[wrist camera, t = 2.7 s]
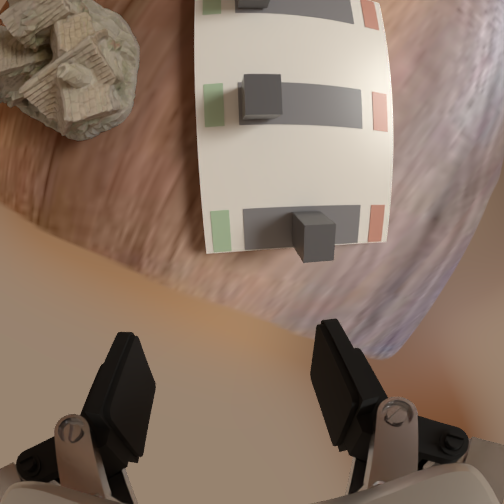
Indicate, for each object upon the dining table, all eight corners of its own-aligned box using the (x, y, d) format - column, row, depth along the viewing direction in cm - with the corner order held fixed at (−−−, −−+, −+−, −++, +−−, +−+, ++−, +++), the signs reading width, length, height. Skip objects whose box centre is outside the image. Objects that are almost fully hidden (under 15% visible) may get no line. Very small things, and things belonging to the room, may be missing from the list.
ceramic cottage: (17, 48, 15) (-66, 35, 2) (141, -6, 16) (94, -81, 3) (23, 164, 22) (-68, 205, 9) (148, 124, 23) (79, 126, 10)
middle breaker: (271, 85, 19) (280, 74, 16) (273, 119, 21) (282, 114, 17) (240, 85, 19) (243, 73, 16) (242, 120, 20) (245, 114, 17)
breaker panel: (370, 9, 18) (379, 3, 16) (377, 235, 28) (386, 241, 26) (197, -5, 17) (195, -15, 15) (207, 245, 27) (206, 253, 25)
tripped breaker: (319, 211, 24) (336, 223, 20) (318, 242, 25) (333, 260, 21) (292, 212, 24) (304, 225, 20) (292, 244, 25) (303, 262, 21)
